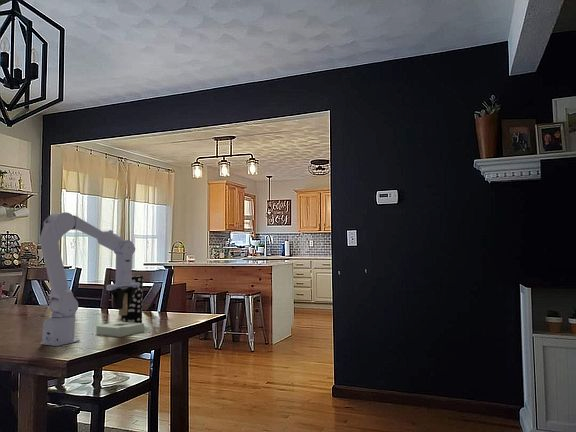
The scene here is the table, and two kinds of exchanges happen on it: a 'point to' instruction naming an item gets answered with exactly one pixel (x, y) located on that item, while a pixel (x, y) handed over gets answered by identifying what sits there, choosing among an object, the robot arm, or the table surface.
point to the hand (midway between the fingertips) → (123, 308)
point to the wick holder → (120, 329)
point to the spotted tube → (135, 303)
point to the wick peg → (124, 305)
